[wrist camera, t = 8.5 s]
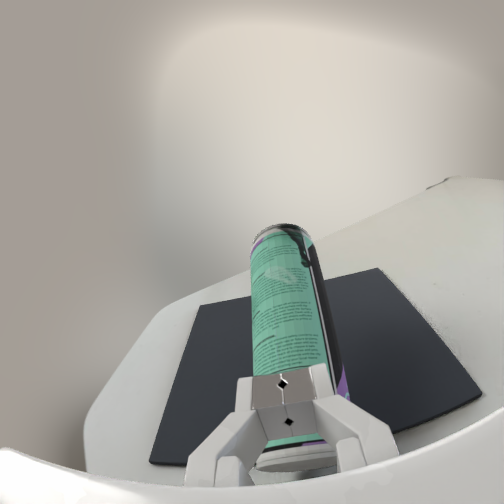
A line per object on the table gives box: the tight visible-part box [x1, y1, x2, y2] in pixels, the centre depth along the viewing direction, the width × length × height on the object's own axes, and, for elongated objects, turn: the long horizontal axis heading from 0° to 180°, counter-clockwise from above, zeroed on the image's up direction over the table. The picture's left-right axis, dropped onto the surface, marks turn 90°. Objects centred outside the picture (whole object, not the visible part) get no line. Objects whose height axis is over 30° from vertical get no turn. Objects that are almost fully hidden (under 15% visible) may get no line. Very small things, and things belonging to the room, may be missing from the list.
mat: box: [149, 268, 482, 465], centre depth 26 cm, size 24×24×1 cm
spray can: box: [250, 224, 350, 472], centre depth 20 cm, size 6×6×20 cm
